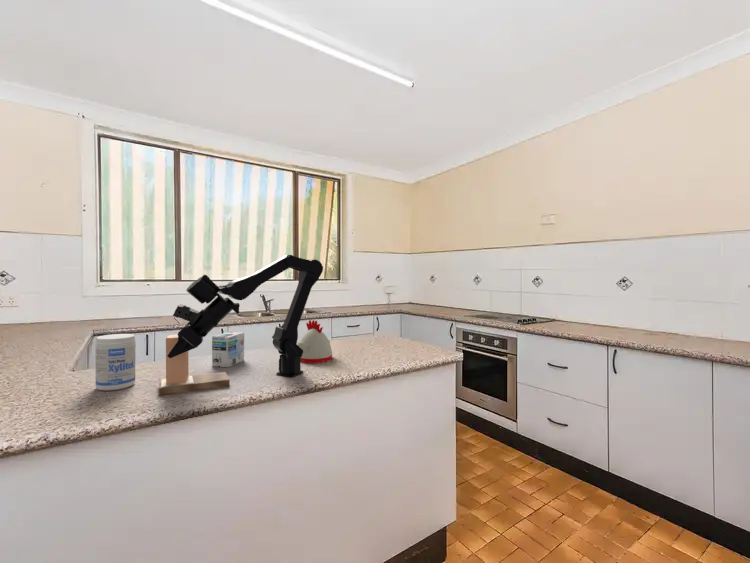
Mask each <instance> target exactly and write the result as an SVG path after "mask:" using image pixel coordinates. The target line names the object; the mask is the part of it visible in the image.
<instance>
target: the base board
mask: <svg viewBox="0 0 750 563" xmlns="http://www.w3.org/2000/svg"><path fill="white" fill-rule="evenodd" d="M230 380H231V379H230V378H229V375H228V374H227V373H226V371H220V372H212V373H204V374H195V375H189V378H188V380H187V382H186V383H176V384H166V378H161V379H159V384H158V396H166V395H167V396H168V395H174V394H181V393H187V392H196V390H197V391H202V390H203V389H204V390H211V389H210V388H212V389H218V388H217V387H219V388H225V387H224V386H227V387H230V385H231V384H230ZM204 390H203V391H204Z"/></svg>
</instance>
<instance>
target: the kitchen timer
mask: <svg viewBox="0 0 750 563" xmlns="http://www.w3.org/2000/svg"><path fill="white" fill-rule="evenodd" d="M305 324H306V328H307V331H306V332H305V333H304V334H303V335H302V336H301V338H300V340H299V342H297V345H298V346H299V347H300V348H301V349H302V350H303V354H302V357H301V363H305V364H322V363H327V362H330V361H331V359H332V360H333V350H332V347H331V341H330V339H328V336H326V334H325V333H324V332H323V329H324V327H323V326H322V327H321V323H318V320H315V319H314V320H313V319H312V320H308V322H306V323H305Z"/></svg>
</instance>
